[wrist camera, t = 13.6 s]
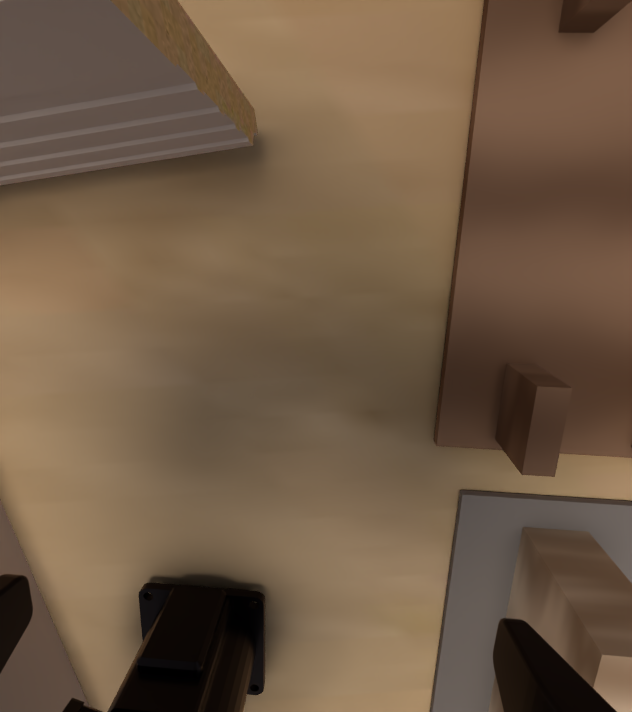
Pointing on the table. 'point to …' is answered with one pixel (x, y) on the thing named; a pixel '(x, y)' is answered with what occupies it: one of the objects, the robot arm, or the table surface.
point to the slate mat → (504, 579)
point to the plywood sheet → (576, 609)
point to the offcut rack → (545, 240)
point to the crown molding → (34, 647)
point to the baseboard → (110, 88)
